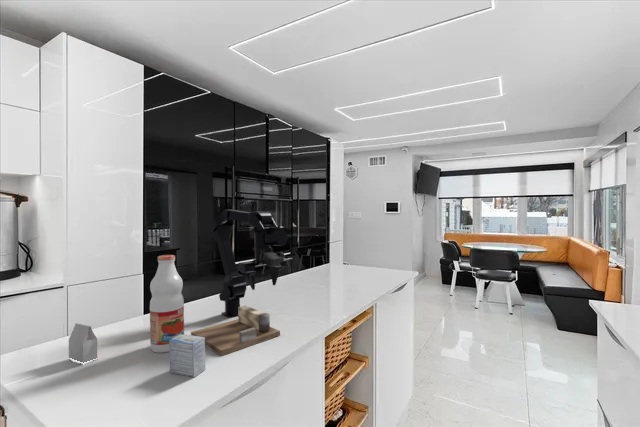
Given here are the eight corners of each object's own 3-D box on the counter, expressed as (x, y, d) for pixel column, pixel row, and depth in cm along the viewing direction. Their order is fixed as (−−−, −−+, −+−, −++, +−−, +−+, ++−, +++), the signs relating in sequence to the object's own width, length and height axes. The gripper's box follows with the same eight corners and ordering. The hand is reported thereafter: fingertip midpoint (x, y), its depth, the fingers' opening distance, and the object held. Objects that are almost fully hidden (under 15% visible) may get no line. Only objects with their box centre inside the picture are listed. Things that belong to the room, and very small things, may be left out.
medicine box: (206, 369, 84) (205, 336, 84) (194, 378, 80) (193, 343, 80) (181, 365, 86) (181, 333, 86) (169, 373, 82) (168, 339, 82)
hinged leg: (271, 329, 107) (271, 314, 107) (262, 332, 104) (262, 317, 104) (246, 318, 118) (246, 305, 118) (237, 321, 116) (237, 307, 116)
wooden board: (191, 336, 107) (190, 322, 107) (246, 320, 122) (245, 308, 122) (221, 355, 92) (221, 340, 92) (280, 335, 107) (279, 321, 107)
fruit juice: (166, 339, 105) (165, 253, 105) (190, 342, 102) (189, 254, 102) (143, 351, 96) (141, 257, 96) (168, 355, 93) (167, 258, 93)
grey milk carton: (83, 365, 87) (82, 328, 87) (68, 360, 90) (68, 325, 90) (97, 359, 91) (96, 324, 91) (83, 355, 93) (82, 321, 93)
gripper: (252, 248, 107) (254, 295, 107) (295, 243, 120) (297, 285, 120) (235, 247, 115) (237, 291, 115) (277, 243, 128) (279, 282, 128)
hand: (264, 287), depth 119 cm, fingers open, 9 cm apart
